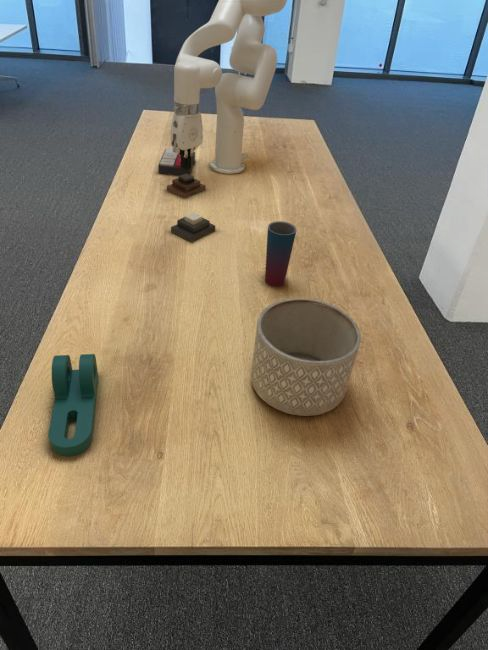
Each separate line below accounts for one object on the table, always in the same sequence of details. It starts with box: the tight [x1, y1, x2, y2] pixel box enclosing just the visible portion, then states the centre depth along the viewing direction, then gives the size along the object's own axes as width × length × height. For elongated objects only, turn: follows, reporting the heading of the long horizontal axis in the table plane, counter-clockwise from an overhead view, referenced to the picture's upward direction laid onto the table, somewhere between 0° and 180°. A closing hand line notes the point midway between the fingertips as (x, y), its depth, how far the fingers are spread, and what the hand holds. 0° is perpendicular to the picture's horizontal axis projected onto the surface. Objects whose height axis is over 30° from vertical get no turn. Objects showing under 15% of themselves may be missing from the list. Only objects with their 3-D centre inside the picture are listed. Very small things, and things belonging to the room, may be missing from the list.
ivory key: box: [184, 211, 204, 225], centre depth 142 cm, size 4×4×2 cm
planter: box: [250, 297, 362, 417], centre depth 94 cm, size 19×19×14 cm
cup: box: [264, 220, 298, 287], centre depth 123 cm, size 7×7×15 cm
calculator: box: [157, 148, 196, 177], centre depth 180 cm, size 11×4×15 cm
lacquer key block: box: [170, 216, 216, 243], centre depth 143 cm, size 10×8×4 cm
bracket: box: [47, 353, 99, 457], centre depth 86 cm, size 18×7×8 cm, turn 9°
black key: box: [178, 174, 195, 184], centre depth 164 cm, size 4×4×2 cm
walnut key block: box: [166, 177, 206, 199], centre depth 165 cm, size 10×8×4 cm
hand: (185, 168), depth 161 cm, fingers closed
